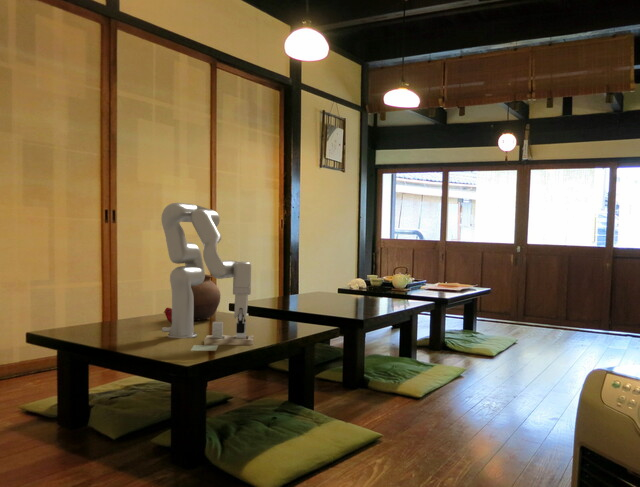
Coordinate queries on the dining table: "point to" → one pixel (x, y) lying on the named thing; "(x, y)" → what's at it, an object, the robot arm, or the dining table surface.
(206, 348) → the rubber mat
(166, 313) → the decorative bird figurine
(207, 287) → the pottery
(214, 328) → the block
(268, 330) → the dining table surface
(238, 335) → the billet
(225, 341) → the pallet
